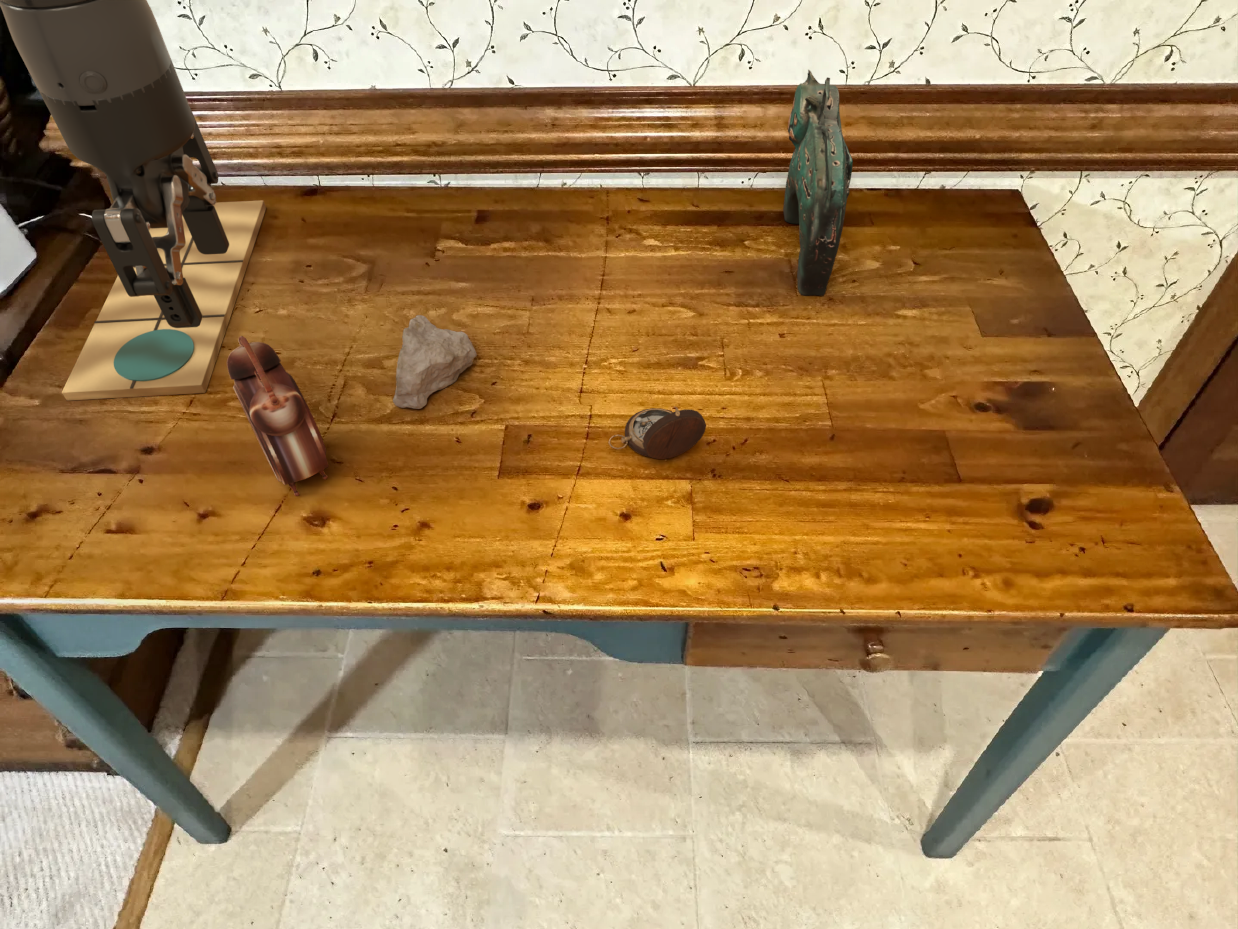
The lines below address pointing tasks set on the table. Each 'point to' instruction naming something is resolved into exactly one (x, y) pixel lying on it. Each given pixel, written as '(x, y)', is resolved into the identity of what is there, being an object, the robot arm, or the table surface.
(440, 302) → the table surface
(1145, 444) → the table surface
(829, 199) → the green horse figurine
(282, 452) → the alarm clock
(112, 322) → the board
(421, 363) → the stone
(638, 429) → the compass
